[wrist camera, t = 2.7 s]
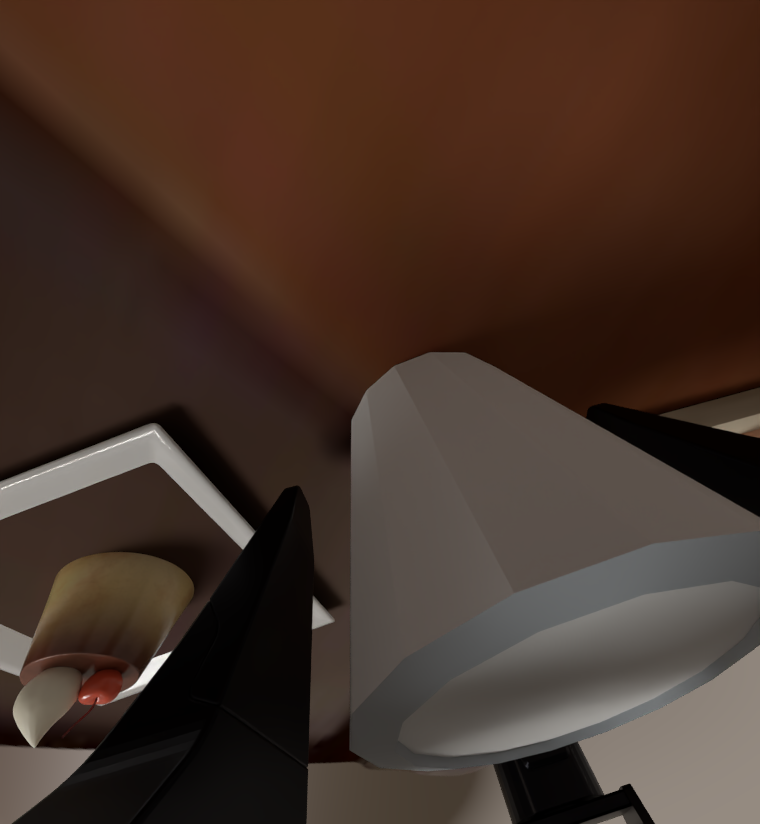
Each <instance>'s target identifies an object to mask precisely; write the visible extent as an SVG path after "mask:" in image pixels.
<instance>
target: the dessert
mask: <svg viewBox="0 0 760 824" xmlns="http://www.w3.org/2000/svg"><path fill="white" fill-rule="evenodd" d="M147 463H156V464H158V465H160V466H161V467H162V468H163V469H164V470H165V471H166V472H167V473H168V474H169V475H170V476H171V477H172V478H173V479H174V480H175V481H176V482H177V483H178V484H179V485H180V486H181V487H182V488H183V489H184V491H185V492H186V493H187V494H188V495H189V496H190V497H191V498H192V499H193V500H194V501H195V502H196V503H197V504H198V505H199V506H200V507H201V508H202V509H203V510H204V511H205V512H206V513H207V514H208V515H209V516H210V517H211V518H212V519H213V520H214V521H215V522H216V523H217V524H218V525H219V526H220V527H221V528H222V529H223V530H224V531H225V532H226V533H227V534H228V535H229V536H230V537H231V538H232V539H233V540H234V541H235V542H236V543H237V544H238V545H239V546H240V547H241V548H242V549H244V548H245V546H246V545H247V543H248V542H249V540H250V539H251V537H252V536H253V534H254V533H255V532H256V531H255V530H254V529H253V528H252V527H251V526H250V525H249V523H248V522H247V521H246V520H245V519H244V518H243V517H242V516H241V515H240V513H239V512H238V511H237V510H236V509H235V508H234V507H233V506H232V505H231V503H230V502H229V501H228V500H227V499H226V498H225V497H224V496H223V495H222V493H221V492H220V491H219V490H218V489H217V488H216V487H215V486H214V485H213V483H212V482H211V481H210V480H209V479H208V478H207V477H206V476H205V475H204V473H203V472H202V471H201V470H200V469H199V468H198V467H197V466H196V465H195V463H194V462H193V461H192V460H191V459H190V458H189V457H188V456H187V455H186V453H185V452H184V451H183V450H182V449H181V448H180V447H179V446H178V445H177V443H176V442H175V441H174V440H173V439H172V438H171V437H170V436H169V435H168V433H167V432H166V431H165V430H164V429H163V428H162V427H161V426H160V425H158V424H157V423H150V424H147V425H145V426H142V427H140V428H137V429H134V430H132V431H129V432H127V433H124V434H122V435H119V436H116V437H114V438H111V439H109V440H106V441H103V442H101V443H98V444H96V445H93V446H91V447H88V448H85V449H83V450H80V451H78V452H75V453H73V454H70V455H67V456H65V457H62V458H60V459H57V460H55V461H52V462H49V463H47V464H44V465H42V466H39V467H36V468H34V469H31V470H29V471H26V472H24V473H21V474H18V475H16V476H13V477H11V478H8V479H6V480H3V481H0V520H1V519H4V518H6V517H9V516H11V515H14V514H17V513H19V512H22V511H24V510H27V509H30V508H32V507H35V506H38V505H40V504H43V503H45V502H48V501H51V500H53V499H56V498H58V497H61V496H64V495H66V494H69V493H71V492H74V491H77V490H79V489H82V488H85V487H87V486H90V485H92V484H95V483H98V482H100V481H103V480H105V479H108V478H111V477H113V476H116V475H119V474H121V473H124V472H126V471H129V470H132V469H134V468H137V467H139V466H142V465H145V464H147ZM193 595H194V585H193V582H192V580H191V579H190V577H189V576H188V575H187V574H186V573H185V572H184V571H183V570H182V569H180V568H179V567H177V566H176V565H174V564H172V563H170V562H168V561H165V560H163V559H160V558H157V557H154V556H150V555H145V554H139V553H130V552H107V553H99V554H94V555H89V556H85V557H82V558H79V559H77V560H75V561H73V562H71V563H69V564H67V565H66V566H65V567H63V568H62V569H61V570H60V571H59V573H58V574H57V576H56V578H55V581H54V584H53V587H52V590H51V593H50V596H49V598H48V601H47V604H46V606H45V609H44V611H43V614H42V617H41V619H40V622H39V624H38V627H37V629H36V632H35V634H34V637H33V639H32V638H30V637H28V636H25V635H23V634H21V633H19V632H16V631H14V630H12V629H10V628H7V627H5V626H3V625H1V624H0V669H1V670H4V671H6V672H9V673H12V674H15V675H17V676H20V681H21V683H22V684H23V685H24V686H25V687H24V688H23V689H22V690H21V691H20V693H19V695H18V697H17V699H16V701H15V704H14V707H13V716H14V719H15V721H16V724H17V726H18V728H19V729H20V731H21V733H22V734H23V736H24V737H25V738H26V740H27V741H28V742H29V744H30V745H31V746H32V747H34V748H35V747H36V746H37V744H38V742H39V741H40V739H41V738H42V737H43V736H44V734H45V733H46V732H47V731H48V730H49V729H50V727H51V726H52V725H53V724H54V723H55V722H56V721H58V720H59V719H60V718H61V717H62V716H63V715H64V714H65V713H66V712H67V711H68V710H69V709H70V708H71V707H72V705H73V704H74V703H75V701H76V700H77V699H79V702H80V703H82V704H85V705H93V706H92V707H91V709H90V710H89V711H88V712H87V713H86V714H85V715H84V716H83V717H82V718H80V719H79V720H78V721H77V722H76V723H75V724H74V725H73V726H72V727H70V728H69V729H68V731H67V732H66V733H65V734H64V735H63V736H62V737H61V738H64V737H65V735H66V734H67V733H68V732H69V731H70V730H71V729H72V728H73V727H74V726H75V725H76V724H78V723H79V722H80V721H81V720H82V719H83V718H84V717H85V716H86V715H88V714H89V712H90V711H91V710H92V709H93V708H94V706H95V704H97V705H99V706H103V705H106V704H108V703H111V702H114V701H117V700H119V699H122V698H125V697H128V696H130V695H133V694H136V693H139V692H141V691H142V690H143V689H144V687H145V686H146V685H147V684H148V682H149V681H150V680H151V679H152V677H153V676H154V675H155V673H156V672H157V671H158V670H159V668H160V667H161V666H162V664H163V663H164V662H165V660H166V659H167V658H168V656H169V655H170V654H171V652H169V653H166V654H164V655H161V656H158V657H156V658H153V657H154V655H155V654H156V652H157V651H158V649H159V648H160V646H161V645H162V643H163V642H164V640H165V639H166V637H167V636H168V634H169V632H170V631H171V629H172V628H173V626H174V625H175V623H176V622H177V620H178V619H179V617H180V616H181V614H182V613H183V611H184V610H185V608H186V607H187V606H188V604H189V603H190V601H191V600H192V598H193ZM334 621H335V619H334V618H333V617H332V616H331V615H330V613H329V612H328V611H327V610H326V609H325V608H324V607H323V606H322V605H321V603H320V602H319V601H318V600H317V599H316V598H315V597H314V596H313V616H312V630H313V629H316V628H318V627H321V626H324V625H327V624H330V623H332V622H334Z"/></svg>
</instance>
